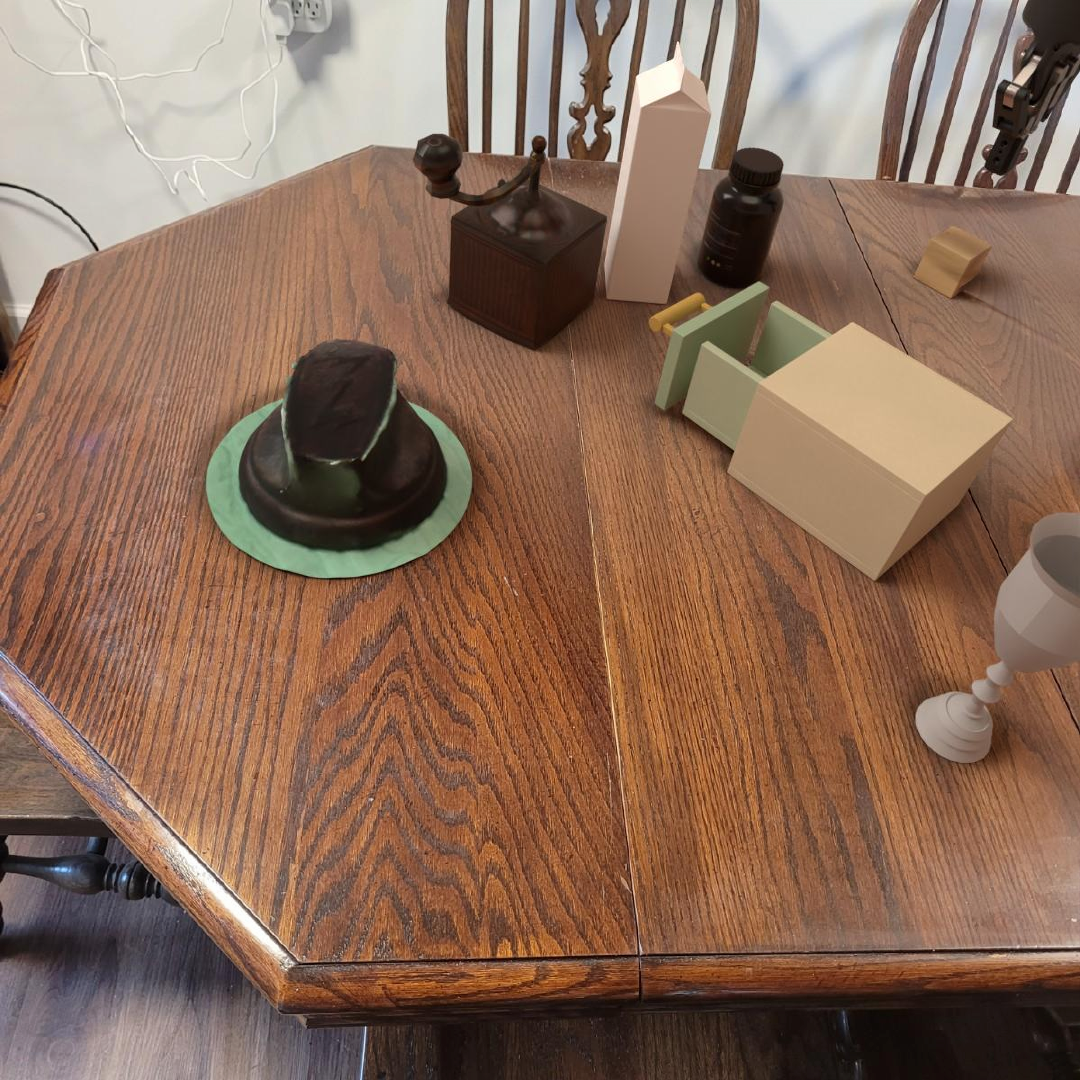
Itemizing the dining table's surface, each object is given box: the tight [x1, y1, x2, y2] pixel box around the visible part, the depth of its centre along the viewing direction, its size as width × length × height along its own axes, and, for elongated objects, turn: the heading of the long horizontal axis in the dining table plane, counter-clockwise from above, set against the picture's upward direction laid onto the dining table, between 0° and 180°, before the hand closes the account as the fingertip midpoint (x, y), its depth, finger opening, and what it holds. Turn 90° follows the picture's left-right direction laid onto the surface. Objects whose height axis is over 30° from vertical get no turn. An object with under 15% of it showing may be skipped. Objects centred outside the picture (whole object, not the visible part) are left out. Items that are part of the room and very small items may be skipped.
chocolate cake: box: [205, 338, 473, 579], centre depth 71 cm, size 15×19×20 cm
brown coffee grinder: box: [412, 133, 608, 350], centre depth 81 cm, size 16×11×18 cm
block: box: [913, 225, 993, 299], centre depth 98 cm, size 5×5×5 cm
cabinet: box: [727, 321, 1013, 582], centre depth 74 cm, size 15×13×10 cm
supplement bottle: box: [697, 146, 785, 288], centre depth 92 cm, size 7×7×12 cm
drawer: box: [648, 280, 833, 451], centre depth 79 cm, size 18×11×8 cm, turn 44°
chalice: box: [915, 511, 1080, 764], centre depth 56 cm, size 7×7×18 cm
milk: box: [603, 41, 712, 305], centre depth 85 cm, size 6×6×22 cm
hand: (996, 170), depth 89 cm, fingers closed
